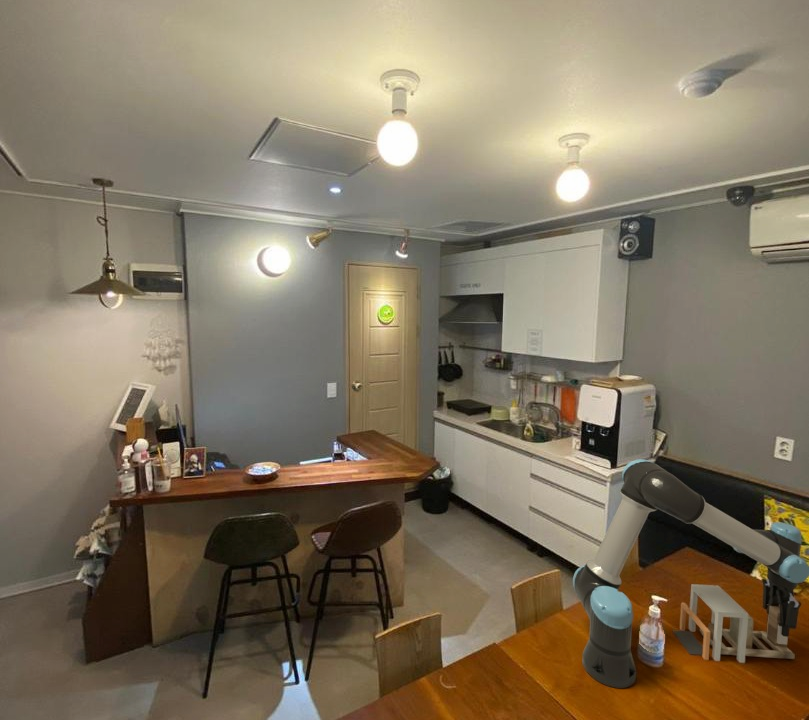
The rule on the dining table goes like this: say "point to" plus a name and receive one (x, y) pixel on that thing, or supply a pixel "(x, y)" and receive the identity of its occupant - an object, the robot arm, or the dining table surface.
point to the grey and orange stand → (715, 618)
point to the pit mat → (689, 642)
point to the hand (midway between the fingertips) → (776, 638)
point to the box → (735, 630)
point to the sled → (768, 637)
